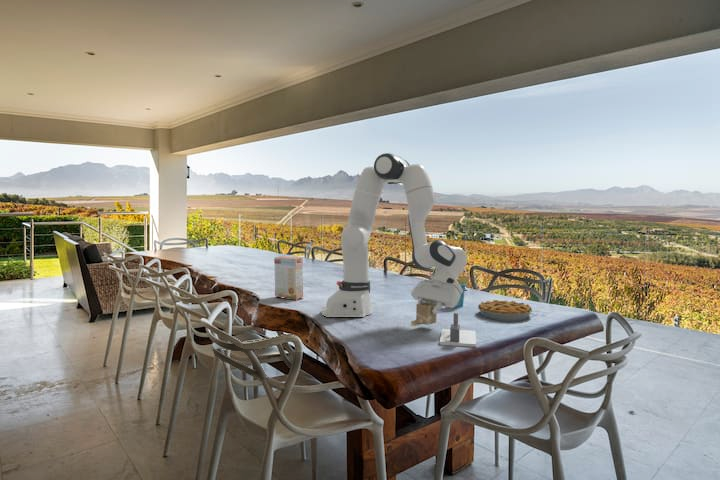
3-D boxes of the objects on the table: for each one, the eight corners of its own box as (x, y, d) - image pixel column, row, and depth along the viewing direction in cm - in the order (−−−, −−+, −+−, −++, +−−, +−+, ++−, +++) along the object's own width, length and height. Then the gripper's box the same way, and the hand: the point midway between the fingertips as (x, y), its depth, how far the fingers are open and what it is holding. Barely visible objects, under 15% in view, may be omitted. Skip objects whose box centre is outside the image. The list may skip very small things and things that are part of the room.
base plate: (442, 331, 170) (442, 328, 169) (475, 333, 167) (475, 330, 167) (439, 344, 154) (439, 341, 154) (476, 347, 151) (476, 344, 151)
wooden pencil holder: (425, 319, 178) (425, 301, 177) (436, 322, 174) (436, 304, 173) (407, 324, 171) (407, 305, 170) (418, 327, 167) (418, 308, 166)
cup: (451, 310, 203) (452, 276, 201) (439, 307, 209) (439, 274, 207) (472, 305, 211) (472, 273, 210) (459, 302, 217) (459, 271, 216)
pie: (494, 307, 209) (494, 296, 209) (541, 315, 193) (541, 303, 193) (468, 315, 194) (468, 304, 193) (516, 325, 178) (516, 312, 178)
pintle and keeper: (451, 334, 166) (451, 312, 165) (459, 335, 165) (460, 313, 164) (450, 344, 154) (450, 321, 153) (459, 345, 153) (459, 321, 153)
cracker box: (303, 298, 228) (303, 257, 227) (295, 300, 223) (295, 258, 222) (282, 295, 236) (281, 255, 234) (274, 297, 231) (273, 256, 229)
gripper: (418, 274, 185) (401, 301, 179) (460, 281, 170) (443, 311, 164) (425, 284, 188) (408, 310, 183) (466, 291, 173) (450, 321, 167)
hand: (425, 311), depth 173 cm, fingers closed on wooden pencil holder, 5 cm apart
